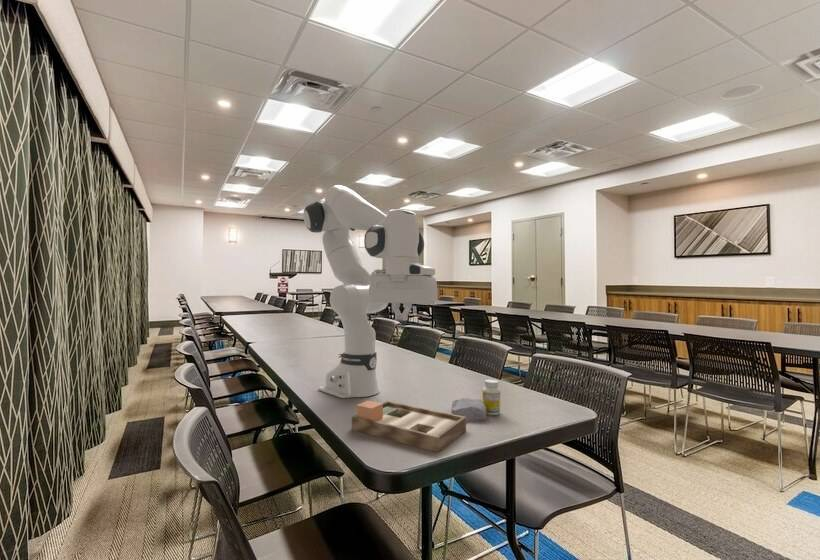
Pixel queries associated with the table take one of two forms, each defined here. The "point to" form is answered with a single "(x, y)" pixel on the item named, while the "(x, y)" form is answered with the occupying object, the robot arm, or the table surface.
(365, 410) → the block
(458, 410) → the stone block
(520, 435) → the table surface
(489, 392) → the supplement bottle
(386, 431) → the board
